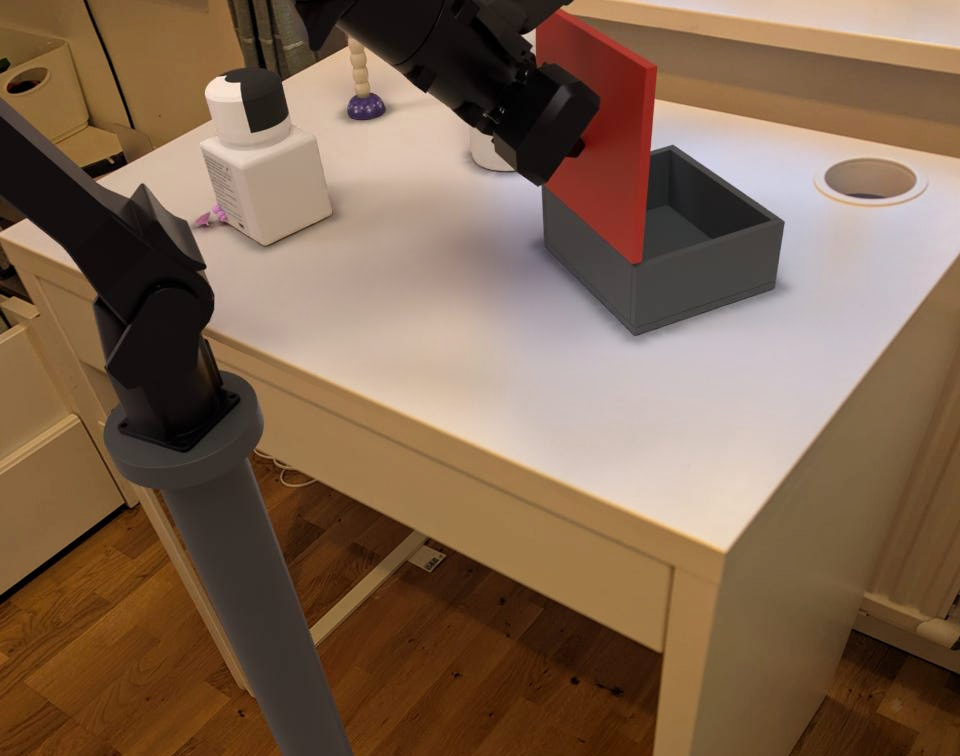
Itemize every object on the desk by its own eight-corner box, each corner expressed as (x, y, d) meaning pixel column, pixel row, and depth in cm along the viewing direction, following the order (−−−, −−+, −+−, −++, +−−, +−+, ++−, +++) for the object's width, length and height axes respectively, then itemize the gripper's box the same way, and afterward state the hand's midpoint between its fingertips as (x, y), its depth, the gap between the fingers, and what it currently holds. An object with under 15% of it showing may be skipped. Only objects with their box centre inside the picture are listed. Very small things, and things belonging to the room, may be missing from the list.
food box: (669, 206, 83) (673, 144, 79) (775, 288, 72) (785, 221, 68) (543, 245, 80) (540, 182, 76) (634, 336, 70) (636, 268, 66)
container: (290, 190, 92) (255, 52, 83) (334, 215, 87) (303, 72, 78) (221, 221, 88) (178, 80, 79) (264, 248, 84) (223, 103, 75)
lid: (545, -2, 67) (535, 0, 67) (657, 65, 56) (646, 68, 56) (545, 176, 76) (536, 178, 76) (642, 261, 65) (632, 264, 65)
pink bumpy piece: (211, 237, 89) (203, 239, 87) (200, 223, 89) (191, 224, 87) (233, 217, 88) (225, 218, 86) (222, 203, 88) (213, 204, 86)
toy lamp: (395, 104, 104) (370, -64, 93) (380, 122, 101) (352, -50, 90) (356, 103, 106) (326, -64, 94) (340, 120, 103) (307, -50, 91)
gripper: (565, -74, 48) (730, 93, 58) (432, -134, 60) (587, 11, 70) (441, 119, 51) (616, 243, 62) (341, 24, 64) (500, 140, 74)
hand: (579, 150), depth 67 cm, fingers closed, pressing on lid
